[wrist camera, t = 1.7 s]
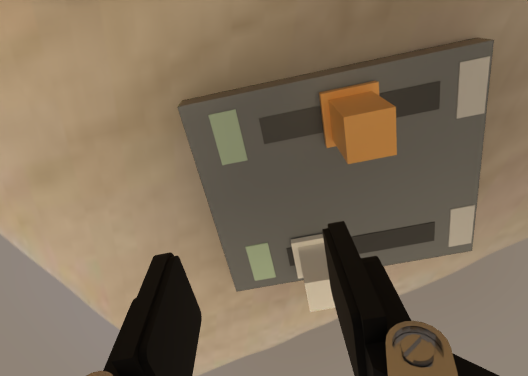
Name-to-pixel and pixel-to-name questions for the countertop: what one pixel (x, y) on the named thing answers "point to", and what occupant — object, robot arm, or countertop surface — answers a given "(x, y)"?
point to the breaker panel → (344, 162)
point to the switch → (313, 271)
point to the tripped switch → (359, 122)
